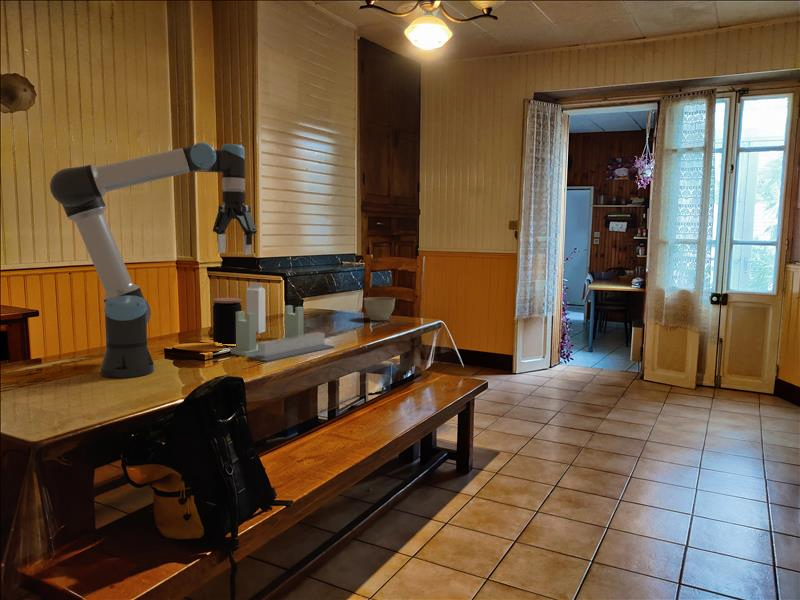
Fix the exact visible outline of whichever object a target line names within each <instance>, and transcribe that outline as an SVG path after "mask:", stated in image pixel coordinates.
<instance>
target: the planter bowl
mask: <svg viewBox="0 0 800 600" xmlns="http://www.w3.org/2000/svg"><path fill="white" fill-rule="evenodd" d="M363 302H364V310H365V312H366V314H367V315H368V317H369V319H370V320H371V321H381V322H382V321H388V320H389V318H390V316H392V313H393V312H394V309H395V303H396V298H394V297H385V296H379V297H376V296H374V297H364V298H363Z"/></svg>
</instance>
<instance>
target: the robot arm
mask: <svg viewBox="0 0 800 600" xmlns="http://www.w3.org/2000/svg"><path fill="white" fill-rule="evenodd" d="M245 153H246V152H245V147H244V146H243V145H241V144H235V143H224V144H222V146H221V149H215V148H213V146H212V145H211V144H209V143H206V142H198V143H195V144H194V145H190V146H186V147H181V148H177V149H172V150H169V151H168V150H167V151H163V152H158V153H154V154H149V155H146V156H145V155H144V156H142V157H141V156H140V157H136V158H131V159H127V160H122V161H119V162H114V163H109V164H105V165H100V166H96V165H94V164H89V165H83V166H75V167H66V168H63V169H60V170H57V172H55V174H54V175H53V176H52V177H51V180H50V183H49V189H50V193H51V195H52V197H53V198H54V200H56V201H57V202H58V203H59V204H61V206H62V208H63V210H64V213H65V214H66V217H67V219H68V220H70V221H73V222H74V223H75V225H76V226H77V227H76V228H77V229H78V231H79V233H80V236H81V239H82V241H83V244H84V245H85V247H86V250H87V253H88V254H89V258H90V259H91V262H92V264H93V266H94V269H95V271H96V274H97V276H98V278H99V281H100V283H101V286H102V287H103V289H104V292H105V295H104V296H103V298H102V300H103V302H104V309H103V312H104V319H105V320H104V322H105V323H104V324H105V345H106V346H105V347H106V348H105V349H106V350H105V352H104V355H103V360H102V363H101V366H100V375H101V377H102V376H103V377H105V378H112V379H113V378H114V379H116V378H117V379H123V378H125V379H126V378H136V377H141V376H142V377H143V376H146V375H149V374H152V373H153V372H154V371H155V364H154V360H153V358H152V355H151V354H150V350H149V348H148V347H149V346H148V325H147V324H148V323H149V321H150V318H151V314H152V313H151V306H150V304H149V303H148V300H146V299H145V297H144V294H143V292H142V290H141V287H140V286H139V285H137V284H134V283H133V281H132V278H131V276H130V274H129V271H128V269H127V266H126V264H125V262H124V259H123V257H122V255H121V253H120V250H119V247H118V244H117V242H116V240H115V238H114V235H113V233H112V231H111V228H110V226H109V224H108V222H107V219H106V217H105V214H104V213H105V211H106V209H107V206H106V203H105V200H104V198H103V197H105V194H106V193H107V192H112V191H116V190H121V189H124V188H129V187H133V186H136V185H142V184H145V183H146V184H147V183H150V182H154V181H159V180H163V179H167V178H171V177H175V176H180V175H184V174H187V173H188V174H189V173H191V172H193V173H194V172H195V173H202V172H203V173H218V174H219V173H220V174H221V175H222V179H221V188H222V193H221V195H222V196H221V197H222V198H221V199H222V201H221V202H222V203H224V205H220V204H219V205H218V207H217V208H218V210H217V211H218V212H217V215H216V217H215V221H214V225H213V228H212V232H213V233H215V234H216V236H217V237H216V239H217V240H216V242H217V253H218V254H226V253H227V249H226V248H227V243H226V242H227V241H226V240H227V239H226V237H227V236H226V235H227V234H226V230H227V228H228V226H229V224H230V222H231V221H232V220H237V222H238V224H239V225H240V227H241V230H242V231H243V232H244V233H243V236H242V237H243V241H242V244H243V245H242V246H243V250H242V251H243V253H242V254H243V255H245V256H247V255H250V256H251V255H252V244H253V235H254V234H257V232H258V231H257V228H256V225H255V222H254V219H253V216H252V212H251V206H250V205H245V203H246V193H245V191H246V154H245Z"/></svg>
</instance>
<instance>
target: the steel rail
mask: <svg viewBox="0 0 800 600" xmlns="http://www.w3.org/2000/svg"><path fill="white" fill-rule="evenodd" d="M325 336H326V335H325V332H321V331H316V332H315V331H314V332H312V333H311V332H310V333H306V334H304V335H299V336H293V337H288V338H285V337H284V338H279V339H272V340H267V341H259V342H258V343H257V344H258V357H262V358H268V357H273V356H278V355H283V354H287V353H292V352H297V351H302V350H307V349H311V348H316V347H321V346H325V345H326V343H325V342H326V341H325V339H326V338H325Z"/></svg>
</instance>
